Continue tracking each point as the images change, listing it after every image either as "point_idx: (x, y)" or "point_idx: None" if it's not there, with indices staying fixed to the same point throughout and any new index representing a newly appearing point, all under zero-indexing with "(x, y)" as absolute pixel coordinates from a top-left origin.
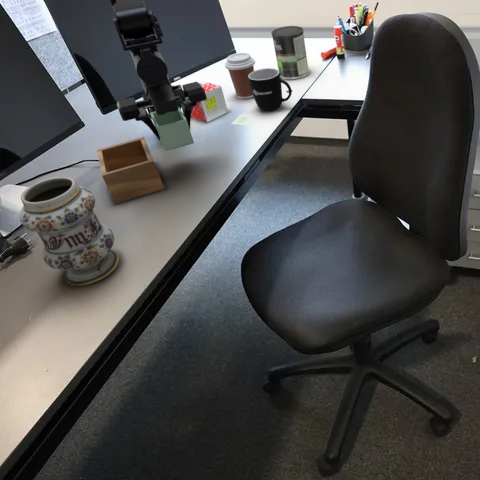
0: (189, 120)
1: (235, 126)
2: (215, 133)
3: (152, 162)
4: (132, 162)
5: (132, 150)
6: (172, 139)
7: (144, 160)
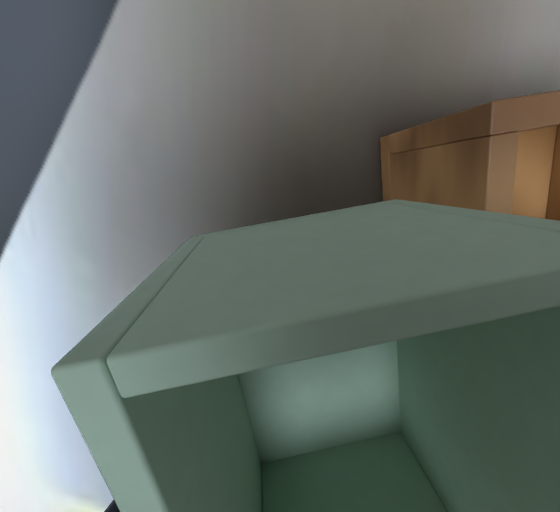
0: None
1: (97, 494)
2: None
3: (494, 101)
4: None
5: None
6: (356, 223)
7: None
